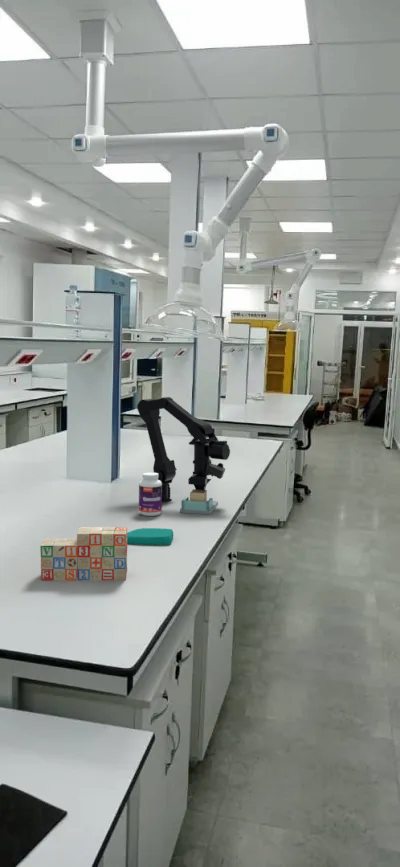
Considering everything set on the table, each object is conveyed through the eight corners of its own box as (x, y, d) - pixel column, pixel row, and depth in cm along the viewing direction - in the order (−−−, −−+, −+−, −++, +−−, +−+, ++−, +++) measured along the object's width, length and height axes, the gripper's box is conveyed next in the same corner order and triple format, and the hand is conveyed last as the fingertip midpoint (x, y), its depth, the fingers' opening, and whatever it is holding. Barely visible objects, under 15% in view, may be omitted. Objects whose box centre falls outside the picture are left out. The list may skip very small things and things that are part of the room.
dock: (210, 514, 229) (210, 502, 229) (179, 512, 231) (180, 500, 231) (217, 504, 244) (218, 493, 243) (189, 502, 246) (189, 491, 245)
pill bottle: (141, 517, 224) (141, 476, 222) (137, 511, 232) (136, 472, 230) (164, 516, 226) (164, 475, 224) (159, 510, 234) (159, 471, 232)
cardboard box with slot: (203, 508, 232) (203, 493, 231) (189, 508, 233) (189, 492, 232) (206, 504, 238) (206, 489, 237) (193, 504, 239) (193, 488, 238)
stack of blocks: (40, 581, 162) (39, 533, 161) (44, 572, 169) (44, 526, 167) (126, 580, 164) (126, 533, 162) (127, 572, 170) (127, 526, 168)
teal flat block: (170, 547, 192) (88, 545, 194) (174, 536, 203) (97, 535, 205) (169, 537, 192) (88, 536, 194) (174, 527, 202) (97, 526, 205)
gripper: (219, 462, 228) (218, 506, 230) (227, 454, 246) (227, 494, 248) (188, 461, 230) (187, 504, 232) (198, 452, 248) (198, 492, 250)
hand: (201, 498), depth 240 cm, fingers closed
